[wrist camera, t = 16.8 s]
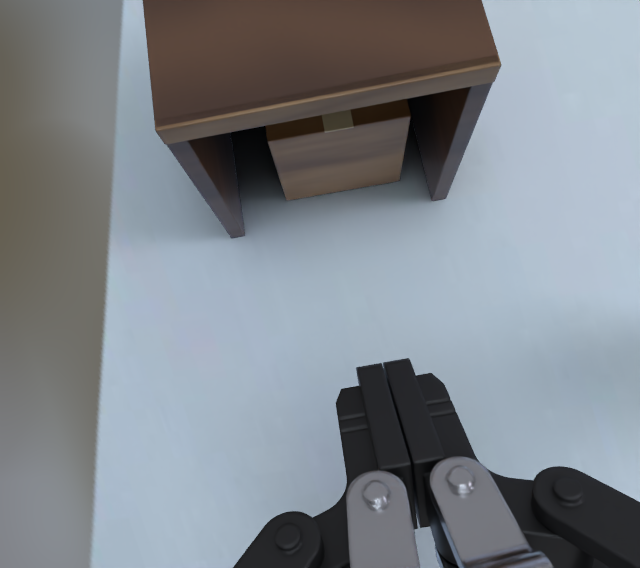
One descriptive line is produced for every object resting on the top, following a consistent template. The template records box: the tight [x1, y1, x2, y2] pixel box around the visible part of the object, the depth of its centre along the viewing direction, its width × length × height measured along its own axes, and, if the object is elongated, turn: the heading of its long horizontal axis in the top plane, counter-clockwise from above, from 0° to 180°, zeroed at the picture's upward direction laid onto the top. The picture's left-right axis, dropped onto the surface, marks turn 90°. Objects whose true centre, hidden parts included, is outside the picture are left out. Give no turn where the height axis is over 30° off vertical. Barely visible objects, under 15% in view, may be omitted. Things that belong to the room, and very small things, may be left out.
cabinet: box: [143, 0, 501, 238], centre depth 30 cm, size 13×15×14 cm
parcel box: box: [265, 99, 411, 201], centre depth 33 cm, size 9×8×8 cm
